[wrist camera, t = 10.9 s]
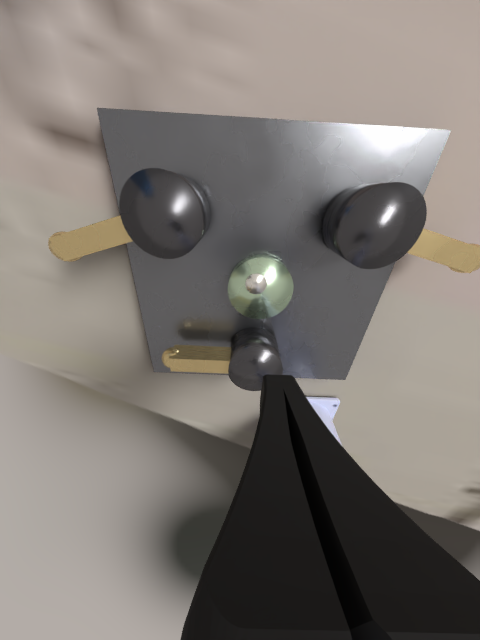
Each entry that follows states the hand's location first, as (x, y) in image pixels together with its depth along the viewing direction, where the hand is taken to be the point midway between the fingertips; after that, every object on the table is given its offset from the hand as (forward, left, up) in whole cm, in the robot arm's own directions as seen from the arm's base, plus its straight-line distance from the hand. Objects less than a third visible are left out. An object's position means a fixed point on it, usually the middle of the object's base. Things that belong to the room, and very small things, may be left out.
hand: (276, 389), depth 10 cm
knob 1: (+6, +9, -9) cm, 14 cm away
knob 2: (-4, +3, -9) cm, 10 cm away
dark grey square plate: (+2, 0, -10) cm, 10 cm away
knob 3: (+6, -8, -9) cm, 14 cm away
